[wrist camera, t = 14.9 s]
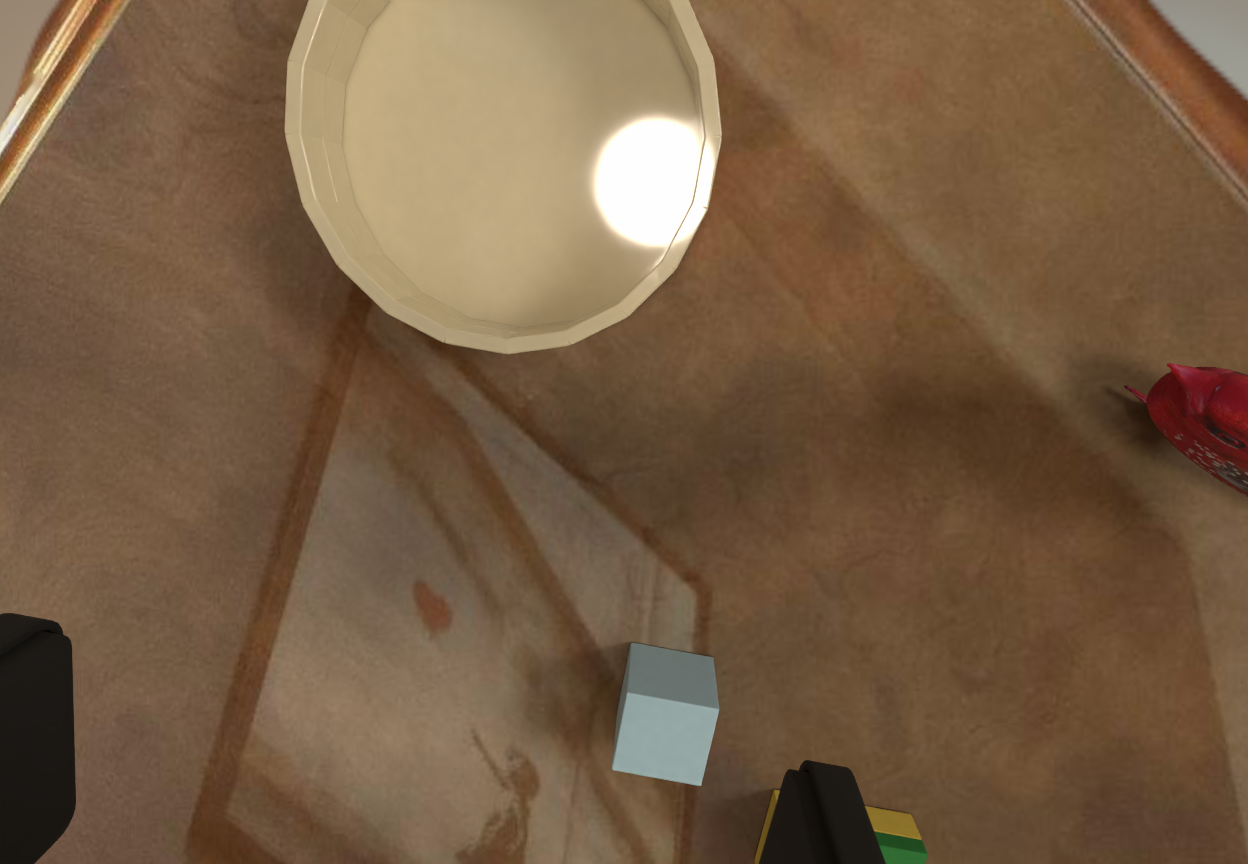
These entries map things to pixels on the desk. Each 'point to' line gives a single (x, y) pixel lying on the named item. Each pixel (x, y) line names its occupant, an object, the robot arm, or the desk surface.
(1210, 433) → the decorative bird figurine
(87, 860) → the desk surface
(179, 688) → the desk surface
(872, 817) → the scrubber
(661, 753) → the ice cube
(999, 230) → the desk surface
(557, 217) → the bowl
